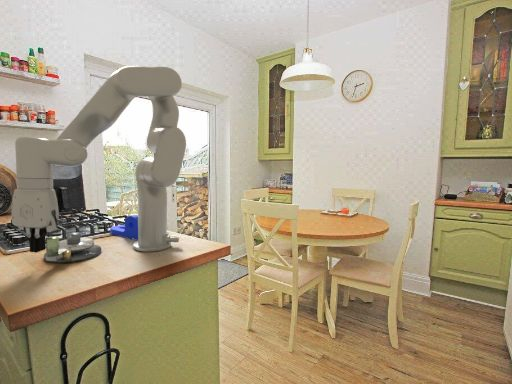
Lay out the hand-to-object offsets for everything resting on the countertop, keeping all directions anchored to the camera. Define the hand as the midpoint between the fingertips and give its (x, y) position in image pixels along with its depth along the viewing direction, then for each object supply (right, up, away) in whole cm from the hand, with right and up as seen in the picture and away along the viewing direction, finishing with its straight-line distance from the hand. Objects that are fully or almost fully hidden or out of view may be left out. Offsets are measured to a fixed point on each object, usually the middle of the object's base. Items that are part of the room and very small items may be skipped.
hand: (37, 250), depth 74 cm
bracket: (+8, -1, +37) cm, 37 cm away
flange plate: (+3, -2, +8) cm, 8 cm away
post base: (+2, -4, +11) cm, 12 cm away
